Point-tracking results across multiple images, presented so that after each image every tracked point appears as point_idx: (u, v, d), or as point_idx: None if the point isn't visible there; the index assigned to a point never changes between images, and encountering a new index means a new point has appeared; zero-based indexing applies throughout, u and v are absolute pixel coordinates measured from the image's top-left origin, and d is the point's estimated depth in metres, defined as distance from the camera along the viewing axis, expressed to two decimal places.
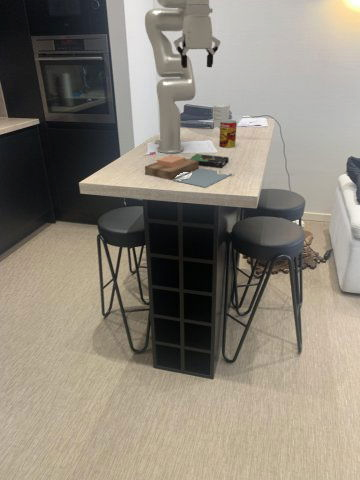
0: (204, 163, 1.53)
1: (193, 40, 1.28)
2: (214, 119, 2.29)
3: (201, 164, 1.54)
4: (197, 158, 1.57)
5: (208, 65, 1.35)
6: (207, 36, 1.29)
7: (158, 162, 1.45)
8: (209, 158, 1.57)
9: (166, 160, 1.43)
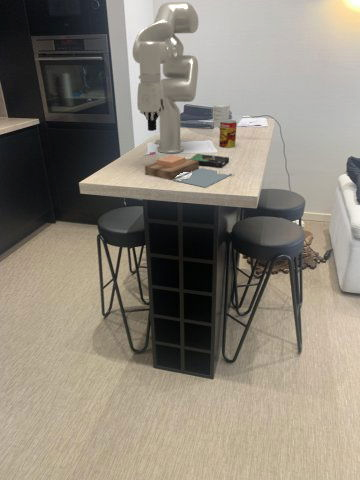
0: (204, 163, 1.53)
1: None
2: (214, 119, 2.29)
3: (201, 164, 1.54)
4: (197, 158, 1.57)
5: None
6: None
7: (158, 162, 1.45)
8: (209, 158, 1.57)
9: (166, 160, 1.43)
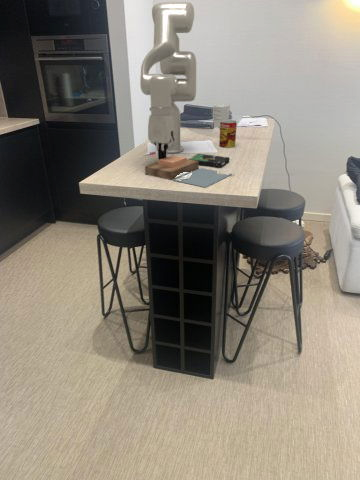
0: (204, 162, 1.54)
1: None
2: (214, 119, 2.29)
3: (201, 164, 1.54)
4: (197, 158, 1.58)
5: None
6: None
7: (159, 162, 1.44)
8: (209, 158, 1.57)
9: (167, 160, 1.43)
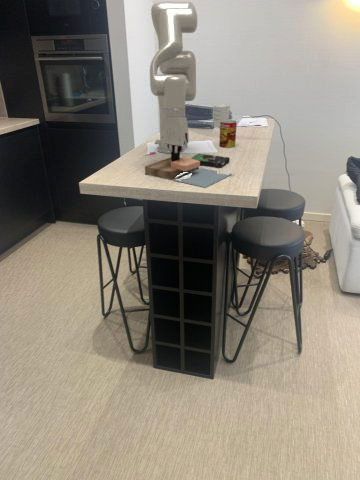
0: (204, 162, 1.54)
1: None
2: (214, 119, 2.29)
3: (201, 164, 1.55)
4: (198, 158, 1.58)
5: None
6: None
7: (172, 165, 1.41)
8: (209, 158, 1.57)
9: (180, 163, 1.39)
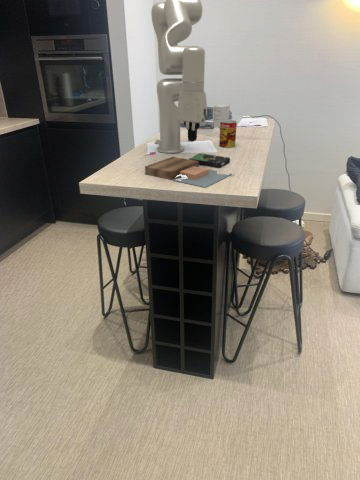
0: (203, 162, 1.54)
1: None
2: (214, 119, 2.29)
3: (200, 163, 1.55)
4: (198, 157, 1.58)
5: None
6: None
7: None
8: (210, 158, 1.57)
9: (189, 172, 1.39)
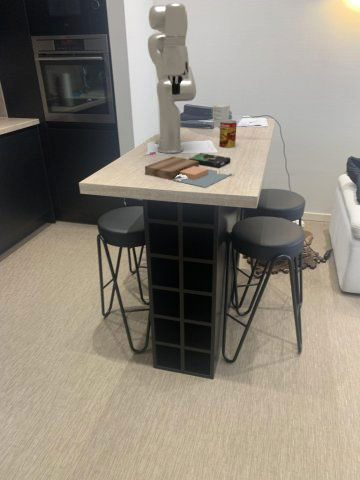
0: (203, 162, 1.54)
1: None
2: (214, 119, 2.29)
3: (200, 163, 1.55)
4: (198, 157, 1.59)
5: None
6: None
7: None
8: (210, 158, 1.58)
9: (189, 172, 1.39)
